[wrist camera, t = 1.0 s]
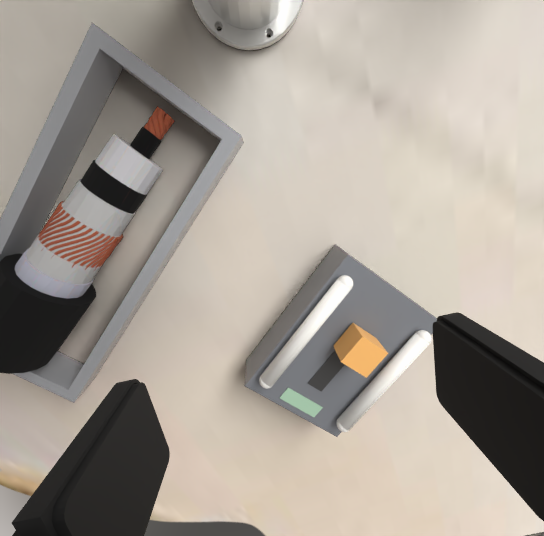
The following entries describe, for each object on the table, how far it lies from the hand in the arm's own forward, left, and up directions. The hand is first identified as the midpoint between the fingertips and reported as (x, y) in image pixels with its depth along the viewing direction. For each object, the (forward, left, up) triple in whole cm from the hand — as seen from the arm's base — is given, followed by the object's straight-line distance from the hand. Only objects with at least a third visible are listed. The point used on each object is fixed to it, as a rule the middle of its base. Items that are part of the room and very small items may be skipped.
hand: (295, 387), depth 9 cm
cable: (+12, -18, -31) cm, 38 cm away
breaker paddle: (+4, +17, -25) cm, 30 cm away
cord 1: (+7, +10, -25) cm, 28 cm away
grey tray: (+13, -17, -31) cm, 38 cm away
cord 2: (+7, +23, -25) cm, 35 cm away
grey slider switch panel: (+7, +17, -31) cm, 36 cm away
